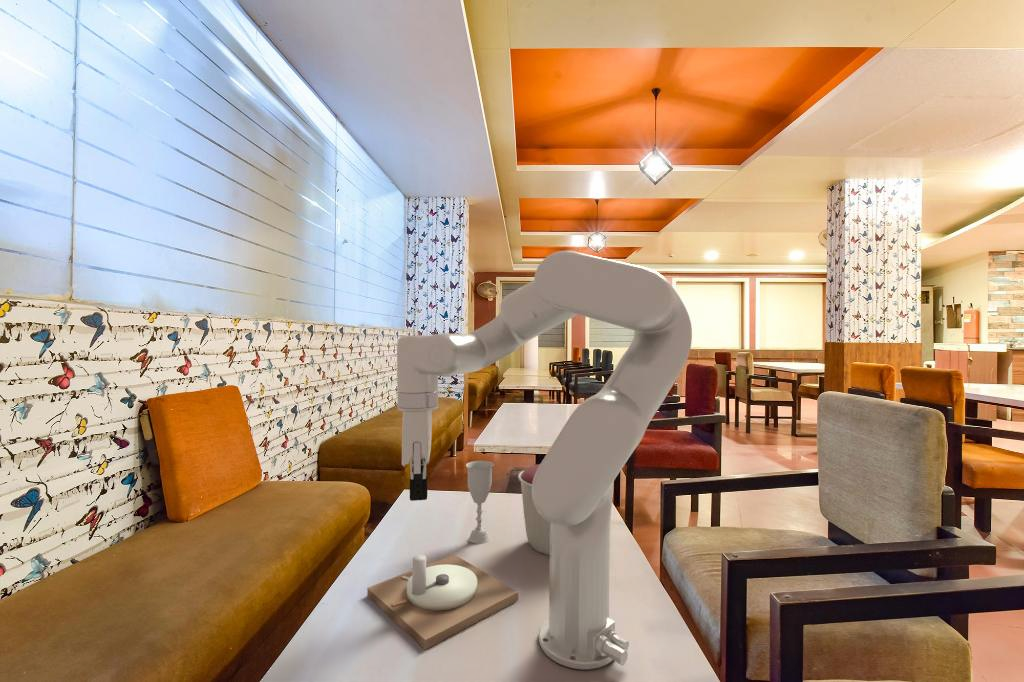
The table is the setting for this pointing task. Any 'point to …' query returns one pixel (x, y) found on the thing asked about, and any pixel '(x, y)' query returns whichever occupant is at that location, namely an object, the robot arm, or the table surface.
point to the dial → (440, 585)
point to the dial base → (440, 623)
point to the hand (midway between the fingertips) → (418, 498)
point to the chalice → (479, 494)
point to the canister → (534, 514)
